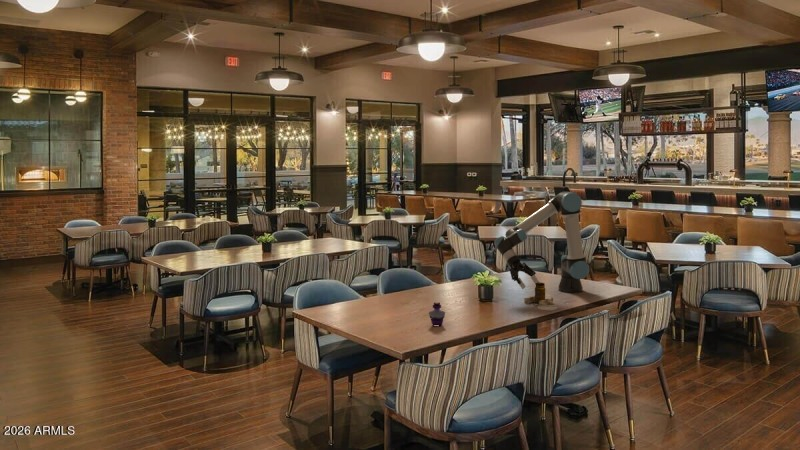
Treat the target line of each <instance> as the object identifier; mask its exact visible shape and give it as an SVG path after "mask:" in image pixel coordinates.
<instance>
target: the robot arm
mask: <svg viewBox="0 0 800 450" xmlns="http://www.w3.org/2000/svg"><path fill="white" fill-rule="evenodd" d="M582 204H583V202H582V198H581V197H580V195H579V194H578V193H576V192H573V191H565V190H564V191H561V192H559V193H557V194H556V195H555V196H554V197H552V198H551V199H550V200H548V201H547V204H545V205H544V206H543V207H541V208H540V209H538V210H536V211H535V212H534V213H532V214H531V215H529V216H528V217H527V218H525V219H523V220H522V221H521V222H520V223H518V224H516V225H515V226H514V227H512V228H509V229H507V230H506V231H505V234H504V235H505V236H503V235H501V236H499V237H497V238H496V239H495V240H494V241H493V242H494V245H495V248H497V249H496V250H497V251H498V252H499V253H500V254H501V256H502V257H503V258H504V260H505V262H506V263H507V264H508V270H509V273H510V274H509V275H510V277H511V280H512V281H513V282H515V281H516V283H517V284H518V285H519V287H520V288H521V289H522V290H524V289H526V287H527V286H526V285H525V283H524V282H523V280H522V279H521V278H520V277H519V272H522V273H525V274H526V275H528V276H530V279H531V280H532V282H533V283H534V284H535V285H536V283H541V282H540V281H539V279H538V278H537V277H536V274H537V272H536V271H535V270H533V269H532V268H531V267H530V266H529V265H527V263H525V262H523V263H522V262H521V259H520V257H519V255H517V253H516V252H515V250H514V249H513V248H515V247H517V245H520V244H521V243H522V242H524V241H526V240H527V239H528V234H527V233H528V232H530V231H531V230H533V229H534V228H536V227H537V226H538V225H541V223H543V222H544V221H546V220H548V218H550V217H552V216H553V215H554V214H559V213H560V215H561V216H562V217H563V218H564V228H565V234H566V235H565V236H566V243H567V251H568V252H567V253H568V255H562V256H561V260H560V261H561V262H560V264H561V265H560V267H561V269H560V271H561V273H560V277H561V278H560V281H559V284H558V291H559V292H564V293H581V292H583V290H584V289H583V284H582V281H581V280H582V279H584V278H586V277H588V275H589V273H590V271H591V270H590V265H589V264H588V262H587V256H586V255H585V253H584V252H583V244H582V243H583V242H582V235H581V225H580V219H579V217H580V216H579V215H580V214H581V212H582V211H581V207H582Z"/></svg>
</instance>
